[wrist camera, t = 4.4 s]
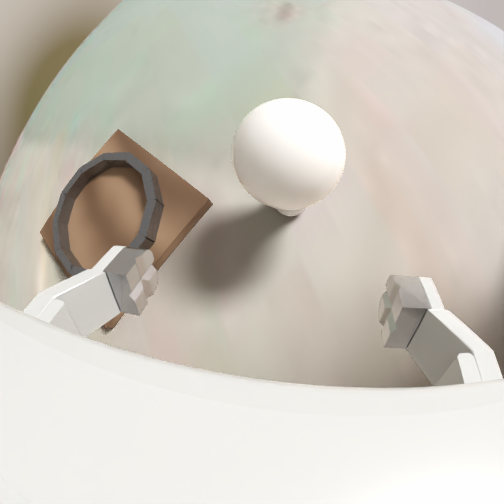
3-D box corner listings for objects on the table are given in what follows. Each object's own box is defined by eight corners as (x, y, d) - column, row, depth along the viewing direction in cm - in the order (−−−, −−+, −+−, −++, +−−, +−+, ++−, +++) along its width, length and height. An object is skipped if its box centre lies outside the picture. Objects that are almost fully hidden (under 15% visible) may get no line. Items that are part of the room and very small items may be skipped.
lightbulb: (241, 182, 24) (206, 97, 13) (311, 159, 24) (319, 64, 13) (266, 252, 22) (242, 200, 12) (341, 225, 22) (378, 156, 11)
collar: (115, 142, 26) (107, 134, 24) (188, 202, 23) (182, 194, 21) (49, 230, 25) (39, 226, 23) (104, 308, 22) (93, 307, 21)
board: (123, 134, 27) (118, 129, 26) (212, 204, 24) (208, 199, 23) (46, 234, 26) (39, 232, 25) (113, 327, 23) (105, 328, 22)
